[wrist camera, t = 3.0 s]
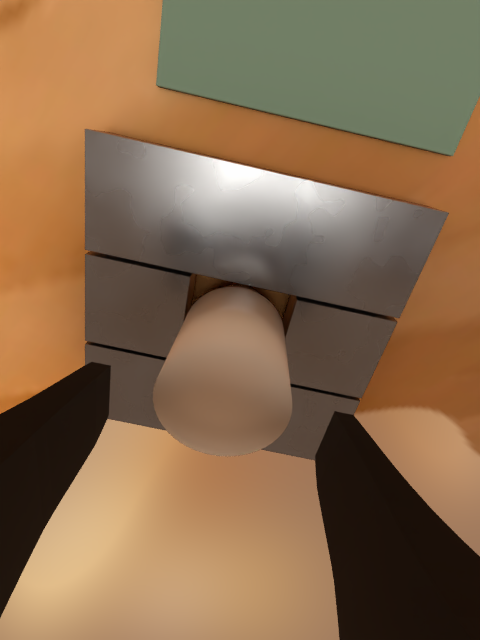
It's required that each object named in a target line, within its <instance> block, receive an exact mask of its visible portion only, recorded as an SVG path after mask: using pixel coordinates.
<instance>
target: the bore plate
mask: <svg viewBox="0 0 480 640" xmlns="http://www.w3.org/2000/svg"><path fill="white" fill-rule="evenodd" d="M448 214H449V213H447V212H444V211H441V210H438V209H435V208H432V207H428V206H425V205H421V204H416V203H412V202H408V201H403V200H399V199H395V198H390V197H386V196H382V195H377V194H373V193H369V192H364V191H360V190H356V189H352V188H347V187H343V186H339V185H334V184H330V183H326V182H321V181H317V180H313V179H308V178H304V177H300V176H295V175H291V174H287V173H282V172H278V171H274V170H269V169H265V168H261V167H257V166H252V165H248V164H244V163H239V162H235V161H231V160H226V159H222V158H218V157H213V156H209V155H205V154H200V153H196V152H192V151H187V150H183V149H179V148H174V147H170V146H166V145H162V144H157V143H153V142H149V141H144V140H140V139H136V138H131V137H127V136H123V135H118V134H114V133H110V132H104V131H97V130H90V129H85V250H89V251H90V252H88V253H86V254H85V341H88V342H87V343H86V344H85V365H87V364H88V363H90V362H96V363H101V364H106V365H111V377H110V401H109V416H108V418H107V419H112V420H117V421H122V422H127V423H132V424H137V425H142V426H147V427H152V428H157V429H162V430H166V429H165V428H164V427H163V425H162V424H161V422H160V421H159V419H158V417H157V415H156V412H155V408H154V404H153V390H154V385H155V383H156V380H157V377H158V375H159V373H160V371H161V369H162V367H163V365H164V363H165V361H166V358H167V356H168V354H169V352H170V350H171V348H172V346H173V344H174V341H175V339H176V337H177V335H178V333H179V331H180V329H181V327H182V325H183V322H184V320H185V318H186V316H187V314H188V312H189V310H190V308H191V305H192V299H193V293H194V286H195V280H196V274H199V275H203V276H208V277H213V278H217V279H222V280H226V281H231V282H236V283H240V284H245V285H249V286H254V287H258V288H263V289H268V290H272V291H277V292H281V293H286V294H290V298H289V301H288V305H287V308H286V311H285V315H284V318H283V321H282V323H283V327H284V335H285V344H286V352H287V361H288V369H289V378H290V386H291V394H292V414H291V418H290V421H289V423H288V425H287V427H286V429H285V430H284V432H283V433H282V434H281V435H280V436H279V437H278V438H277V439H276V440H275V441H274V442H273V443H271V444H270V445H268V446H267V447H265V448H263V449H261V450H266V451H271V452H276V453H281V454H286V455H291V456H296V457H301V458H306V459H311V460H315V455H316V453H317V450H318V448H319V446H320V443H321V441H322V439H323V437H324V434H325V432H326V430H327V427H328V425H329V423H330V420H331V418H332V416H333V414H334V411H337V412H342V413H346V414H351V415H354V413H355V411H356V409H357V407H358V405H359V402H360V400H359V398H362V396H363V394H364V392H365V390H366V388H367V385H368V383H369V381H370V379H371V377H372V375H373V373H374V371H375V369H376V366H377V364H378V362H379V360H380V358H381V356H382V354H383V352H384V349H385V347H386V345H387V343H388V341H389V339H390V337H391V335H392V332H393V330H394V328H395V326H396V324H397V321H396V320H395V319H394V317H396V318H400V316H401V313H402V311H403V309H404V307H405V305H406V303H407V301H408V299H409V296H410V294H411V292H412V290H413V288H414V286H415V284H416V282H417V280H418V277H419V275H420V273H421V271H422V269H423V267H424V265H425V263H426V260H427V258H428V256H429V254H430V252H431V250H432V248H433V246H434V243H435V241H436V239H437V237H438V235H439V233H440V231H441V229H442V227H443V224H444V222H445V220H446V218H447V216H448Z"/></svg>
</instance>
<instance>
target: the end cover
mask: <svg viewBox="0 0 480 640" xmlns="http://www.w3.org/2000/svg"><path fill="white" fill-rule="evenodd" d="M153 404H154V408H155V412H156V415H157V417H158V419H159V421H160V422H161V424H162V425H163V427H164V428H165V429H166V430H167V432H168V433H169V434H171V435H172V436H173V437H174V438H175V439H177V440H178V441H179V442H181V443H182V444H184V445H186V446H187V447H189V448H192V449H194V450H196V451H199V452H202V453H206V454H210V455H216V456H240V455H245V454H250V453H253V452H256V451H258V450H261V449H263V448H265V447H267V446H268V445H270V444H271V443H273V442H274V441H275V440H276V439H277V438H278V437H279V436H280V435H281V434H282V433H283V432H284V430H285V429H286V427H287V425H288V423H289V421H290V418H291V414H292V394H291V386H290V378H289V369H288V361H287V352H286V344H285V335H284V327H283V323H282V319H281V317H280V314H279V313H278V311H277V309H276V308H275V307H274V305H273V304H272V303H271V302H270V301H269V300H268V299H266V298H265V297H264V296H262V295H260V294H259V293H258V292H257V291H255V290H254V289H252V288H250V287H248V286H244V285H228V286H225V287H223V288H219V289H216V290H213V291H210V292H208V293H206V294H205V295H203V296H202V297H200V298H199V299H198V300H197V301H196V302H195V303H194V304H193V306H192V307H191V308H190V310H189V312H188V314H187V316H186V318H185V320H184V322H183V325H182V327H181V329H180V331H179V333H178V335H177V337H176V339H175V341H174V344H173V346H172V348H171V350H170V352H169V354H168V356H167V358H166V361H165V363H164V365H163V367H162V369H161V371H160V373H159V375H158V377H157V380H156V383H155V385H154V390H153Z"/></svg>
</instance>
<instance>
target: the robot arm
mask: <svg viewBox="0 0 480 640" xmlns="http://www.w3.org/2000/svg"><path fill="white" fill-rule="evenodd" d="M110 377H111V365H106V364H101V363H96V362H90V363H88V364H87V365H85V366H83V367H82V368H80V369H78V370H77V371H75V372H73V373H72V374H70V375H68V376H67V377H65V378H63V379H62V380H60V381H58V382H57V383H55V384H54V385H52V386H50V387H48V388H47V389H45V390H43V391H42V392H40V393H38V394H36V395H35V396H33V397H31V398H30V399H28V400H26V401H24V402H22V403H20V404H18V405H16V406H15V407H13V408H11V409H9V410H7V411H5V412H3V413H1V414H0V617H1V615H2V613H3V611H4V609H5V607H6V605H7V603H8V600H9V598H10V596H11V594H12V592H13V590H14V588H15V586H16V584H17V582H18V580H19V578H20V576H21V573H22V571H23V569H24V567H25V566H26V564H27V562H28V559H29V558H30V556H31V554H32V552H33V549H34V548H35V546H36V544H37V542H38V540H39V538H40V535H41V534H42V532H43V530H44V528H45V526H46V525H47V523H48V521H49V519H50V518H51V516H52V514H53V512H54V511H55V509H56V508H57V506H58V504H59V503H60V501H61V499H62V498H63V496H64V495H65V493H66V491H67V490H68V488H69V487H70V485H71V483H72V482H73V480H74V479H75V477H76V475H77V473H78V472H79V470H80V469H81V467H82V465H83V464H84V462H85V461H86V459H87V457H88V456H89V454H90V453H91V451H92V449H93V448H94V446H95V444H96V442H97V440H98V438H99V436H100V434H101V431H102V429H103V427H104V425H105V423H106V420H107V418H108V416H109V401H110ZM315 463H316V478H317V490H318V495H319V501H320V507H321V512H322V517H323V523H324V528H325V533H326V538H327V543H328V549H329V554H330V559H331V564H332V571H333V578H334V585H335V595H336V605H337V615H338V626H339V637H340V640H480V556H479V555H477V554H476V553H475V552H474V551H473V550H472V549H471V548H470V547H469V546H468V545H467V544H466V543H464V541H463V540H462V539H461V538H460V537H458V535H457V534H456V533H454V531H453V530H452V529H451V528H450V527H449V526H447V524H446V523H445V522H444V521H442V519H441V518H440V517H439V516H438V515H437V514H436V513H435V512H434V511H433V510H432V509H431V508H430V507H429V506H428V505H427V503H426V502H425V501H424V500H423V499H422V498H421V497H420V496H419V495H418V494H417V492H416V491H415V490H414V489H413V488H412V487H411V486H410V484H409V483H408V482H407V481H406V480H405V479H404V477H403V476H402V475H401V474H400V473H399V471H398V470H397V469H396V468H395V467H394V465H393V464H392V463H391V462H390V460H389V459H388V458H387V457H386V455H385V454H384V453H383V452H382V451H381V449H380V448H379V447H378V445H377V444H376V443H375V442H374V440H373V439H372V438H371V436H370V435H369V434H368V433H367V431H366V430H365V429H364V428H363V427H362V425H361V424H360V423H359V421H358V420H357V419H356V418H355V417H354V415H351V414H346V413H342V412H337V411H334V414H333V416H332V418H331V420H330V423H329V425H328V427H327V430H326V432H325V434H324V437H323V439H322V441H321V443H320V446H319V448H318V450H317V453H316V455H315Z"/></svg>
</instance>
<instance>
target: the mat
mask: <svg viewBox="0 0 480 640" xmlns="http://www.w3.org/2000/svg"><path fill="white" fill-rule="evenodd" d="M156 85H157V86H158V87H161V88H165V89H169V90H174V91H178V92H182V93H186V94H190V95H195V96H199V97H203V98H207V99H211V100H216V101H220V102H224V103H228V104H232V105H237V106H241V107H245V108H249V109H253V110H258V111H262V112H266V113H270V114H274V115H279V116H283V117H287V118H291V119H296V120H300V121H304V122H308V123H312V124H317V125H321V126H325V127H329V128H333V129H338V130H342V131H346V132H350V133H354V134H359V135H363V136H367V137H371V138H375V139H380V140H384V141H388V142H392V143H396V144H401V145H405V146H409V147H413V148H417V149H422V150H426V151H430V152H434V153H439V154H443V155H447V156H453V155H454V153H455V150H456V148H457V146H458V144H459V141H460V139H461V137H462V135H463V132H464V130H465V128H466V126H467V123H468V121H469V119H470V117H471V114H472V112H473V110H474V108H475V105H476V103H477V101H478V99H479V96H480V0H163V5H162V18H161V31H160V43H159V56H158V69H157V81H156Z"/></svg>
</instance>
